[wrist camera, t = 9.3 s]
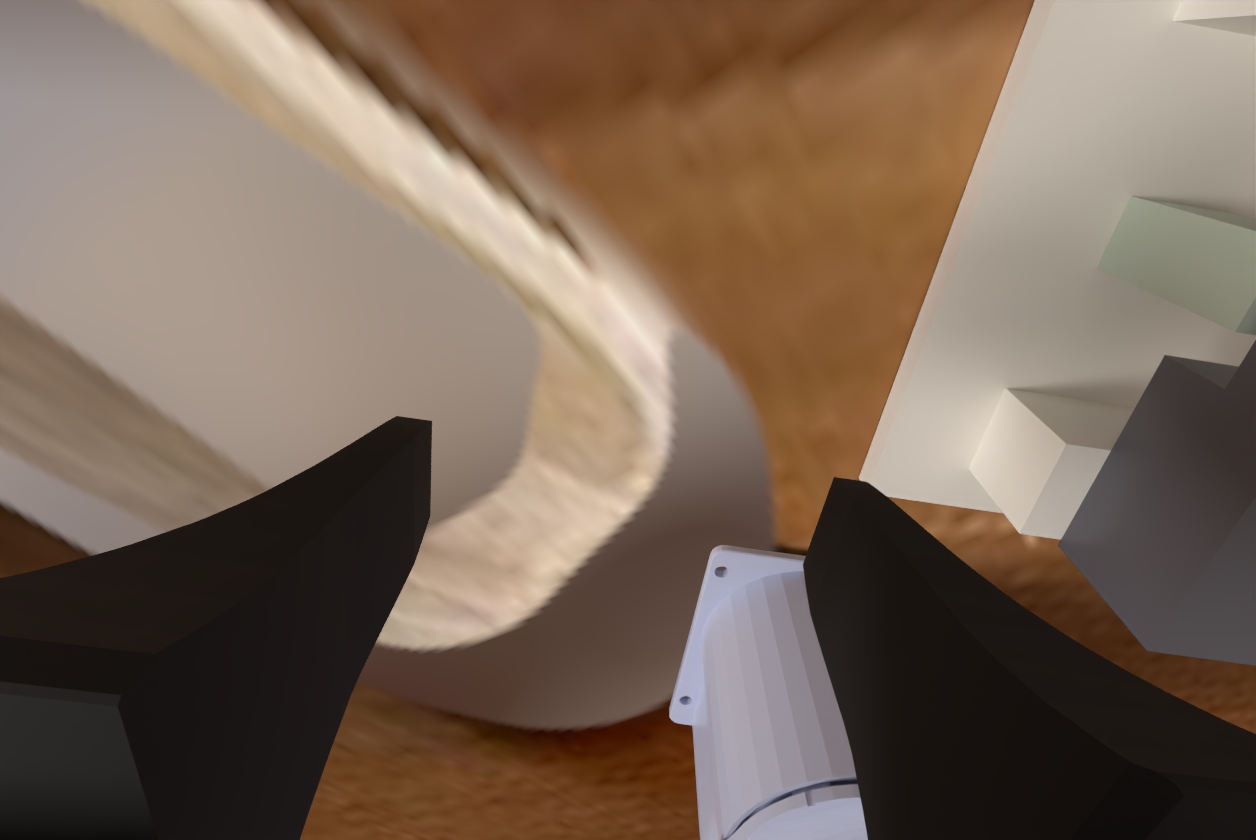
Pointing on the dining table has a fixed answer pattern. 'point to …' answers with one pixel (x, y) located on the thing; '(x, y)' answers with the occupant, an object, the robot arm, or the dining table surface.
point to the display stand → (1081, 257)
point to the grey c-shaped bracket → (1179, 514)
